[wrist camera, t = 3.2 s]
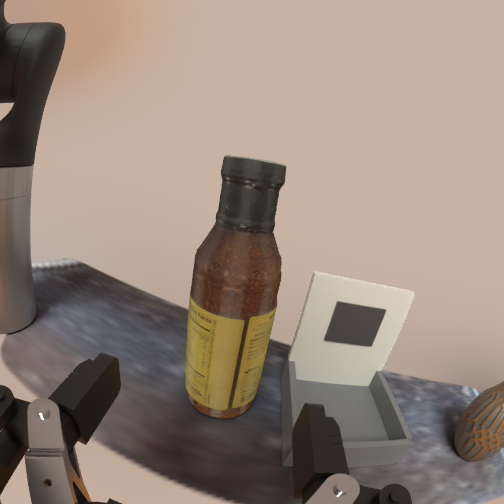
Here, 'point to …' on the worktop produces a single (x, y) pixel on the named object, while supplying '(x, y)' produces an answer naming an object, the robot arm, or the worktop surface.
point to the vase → (482, 426)
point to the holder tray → (348, 367)
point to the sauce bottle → (234, 290)
